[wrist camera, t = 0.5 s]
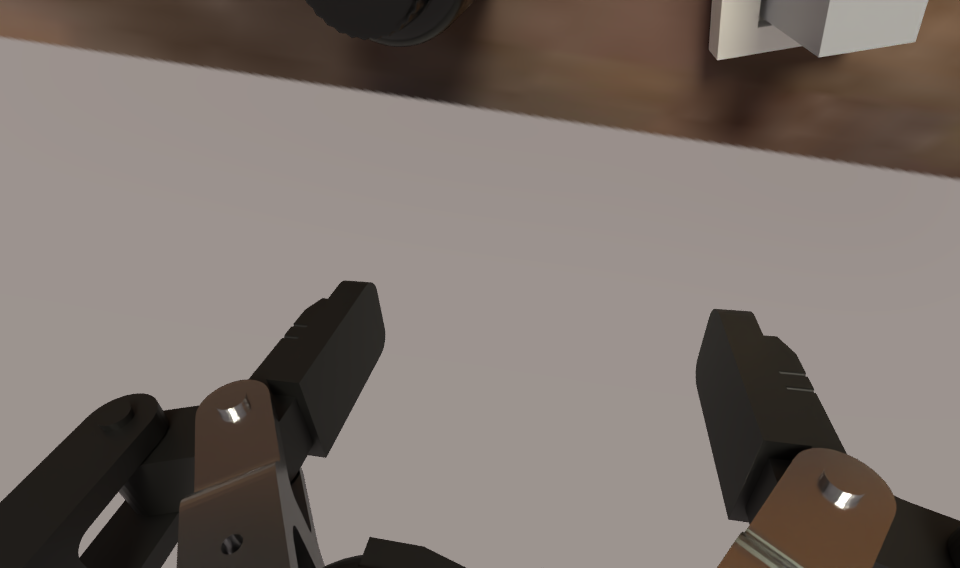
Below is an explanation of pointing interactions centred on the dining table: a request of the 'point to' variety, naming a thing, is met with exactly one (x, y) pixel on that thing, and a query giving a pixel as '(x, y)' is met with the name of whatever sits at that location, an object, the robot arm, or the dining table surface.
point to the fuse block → (743, 30)
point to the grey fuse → (845, 23)
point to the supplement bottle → (390, 18)
